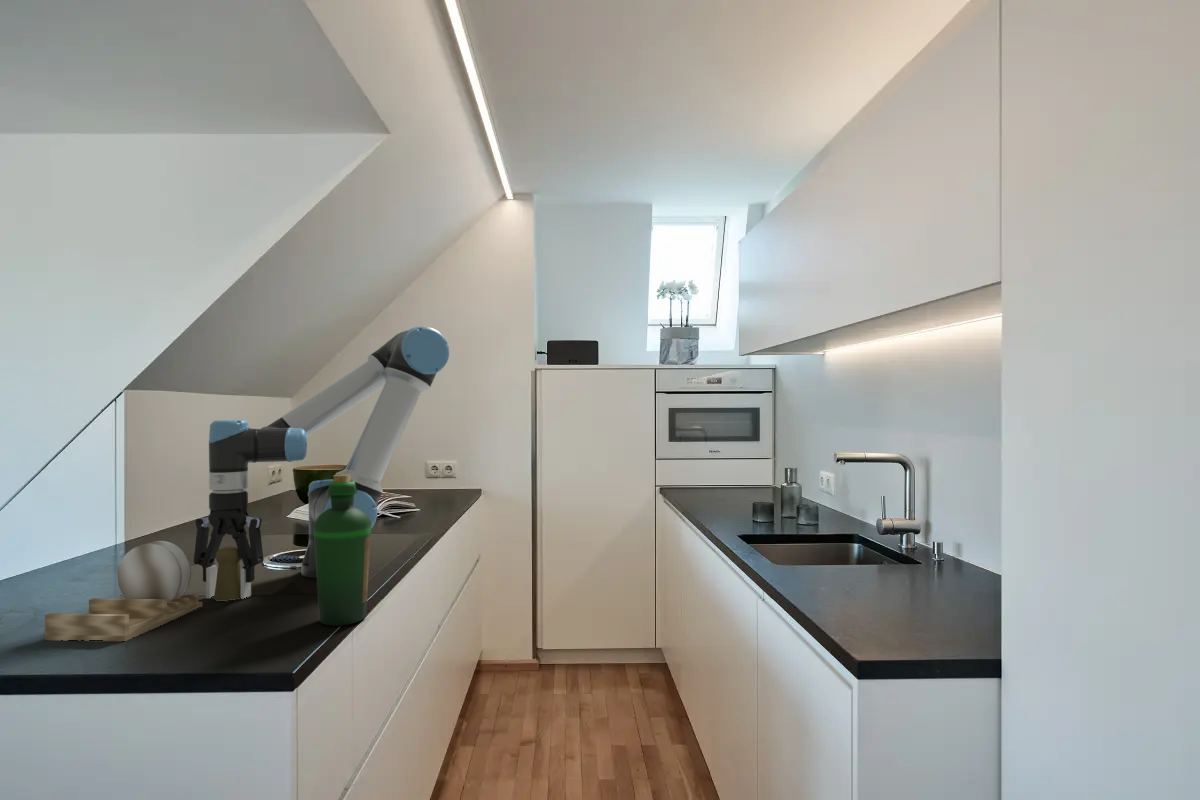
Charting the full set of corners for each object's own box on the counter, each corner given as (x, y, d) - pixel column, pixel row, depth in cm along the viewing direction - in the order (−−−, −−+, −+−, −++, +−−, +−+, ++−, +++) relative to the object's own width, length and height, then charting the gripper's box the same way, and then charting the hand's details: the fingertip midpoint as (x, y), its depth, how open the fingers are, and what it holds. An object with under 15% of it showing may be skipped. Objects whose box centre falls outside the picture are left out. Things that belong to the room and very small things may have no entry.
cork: (221, 594, 158) (220, 544, 158) (249, 593, 159) (249, 544, 159) (208, 602, 152) (208, 550, 152) (238, 601, 153) (237, 549, 153)
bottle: (383, 615, 142) (382, 473, 142) (347, 631, 132) (346, 478, 132) (338, 610, 145) (337, 472, 145) (300, 626, 135) (299, 477, 135)
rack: (202, 606, 149) (202, 539, 149) (124, 641, 127) (124, 562, 127) (133, 605, 150) (133, 538, 150) (44, 640, 128) (44, 561, 128)
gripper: (173, 492, 153) (173, 601, 152) (263, 493, 151) (263, 602, 151) (195, 488, 160) (195, 591, 160) (281, 489, 159) (282, 593, 158)
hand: (228, 596), depth 155 cm, fingers open, 7 cm apart
